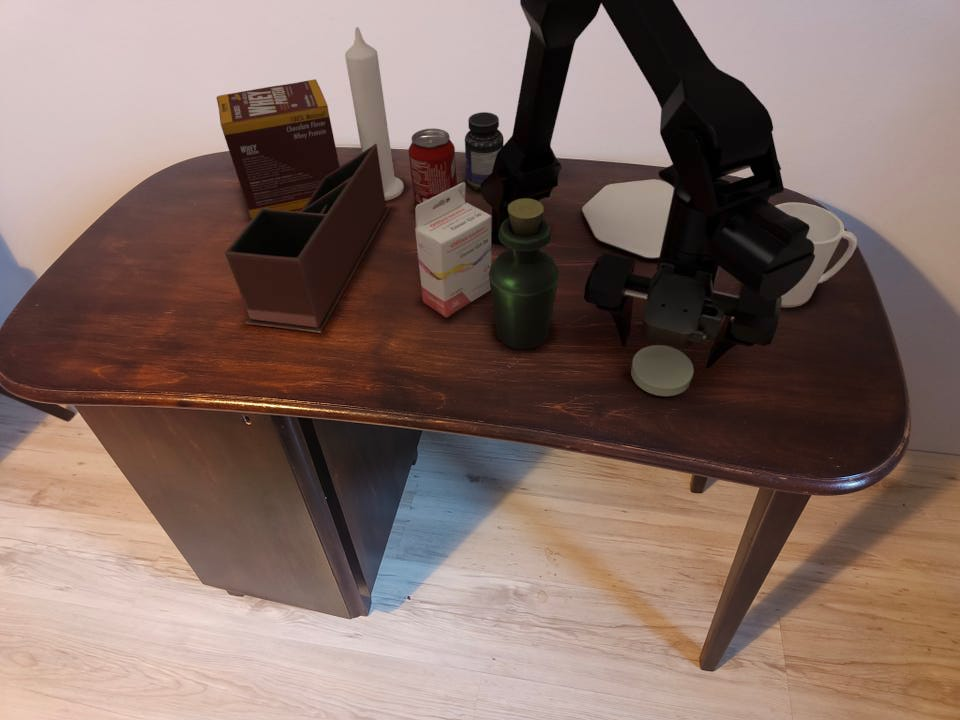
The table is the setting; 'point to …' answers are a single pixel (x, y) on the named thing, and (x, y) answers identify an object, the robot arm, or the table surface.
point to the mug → (817, 248)
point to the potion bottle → (523, 277)
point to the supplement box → (279, 143)
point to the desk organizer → (309, 248)
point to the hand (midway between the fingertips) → (665, 354)
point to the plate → (631, 216)
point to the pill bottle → (481, 147)
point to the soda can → (432, 165)
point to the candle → (371, 109)
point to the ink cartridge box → (452, 251)
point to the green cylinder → (662, 370)
